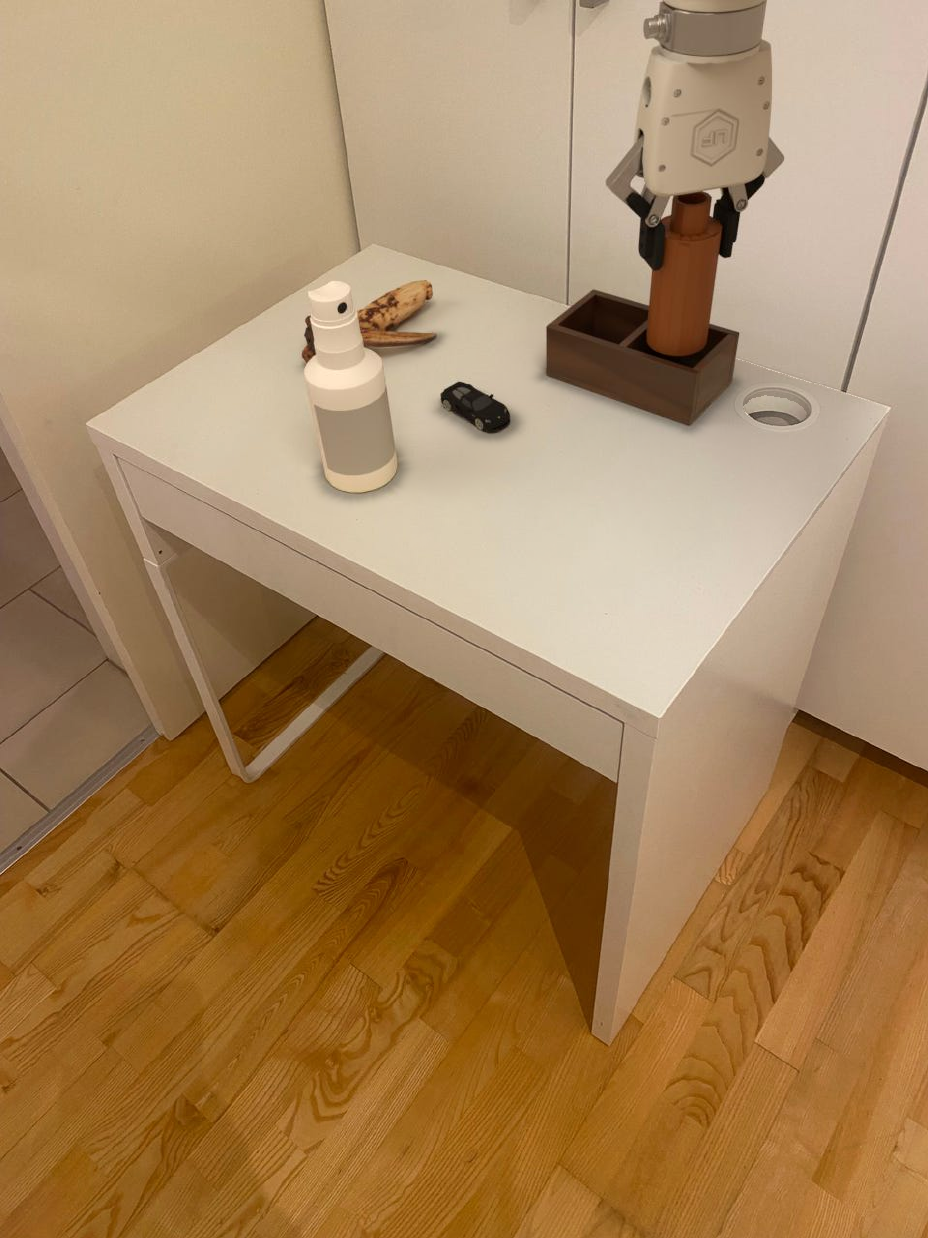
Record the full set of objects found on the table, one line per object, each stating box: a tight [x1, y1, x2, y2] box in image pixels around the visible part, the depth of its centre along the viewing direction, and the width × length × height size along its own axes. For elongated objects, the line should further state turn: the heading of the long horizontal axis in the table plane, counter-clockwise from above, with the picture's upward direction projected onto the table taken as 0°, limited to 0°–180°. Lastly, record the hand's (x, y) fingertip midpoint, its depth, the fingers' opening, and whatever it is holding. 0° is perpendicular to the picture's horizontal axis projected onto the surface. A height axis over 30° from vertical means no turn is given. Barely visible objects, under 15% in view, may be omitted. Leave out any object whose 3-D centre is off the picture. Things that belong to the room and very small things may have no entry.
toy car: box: [440, 381, 511, 433], centre depth 93 cm, size 8×3×2 cm, turn 42°
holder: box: [545, 289, 740, 427], centre depth 94 cm, size 9×16×6 cm, turn 52°
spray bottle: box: [303, 280, 399, 493], centre depth 82 cm, size 7×7×18 cm
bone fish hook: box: [301, 279, 438, 364], centre depth 103 cm, size 9×5×18 cm
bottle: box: [647, 191, 723, 356], centre depth 86 cm, size 6×6×14 cm
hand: (686, 255), depth 85 cm, fingers closed on bottle, 5 cm apart
